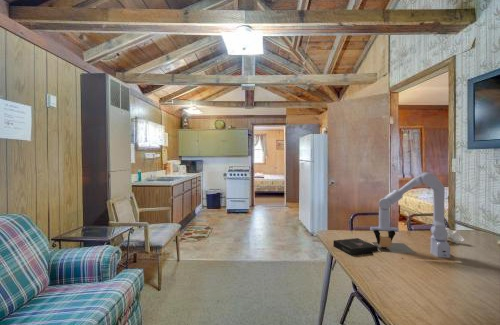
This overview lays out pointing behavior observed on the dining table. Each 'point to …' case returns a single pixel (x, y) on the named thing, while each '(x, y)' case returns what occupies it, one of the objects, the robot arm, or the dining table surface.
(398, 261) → the dining table surface
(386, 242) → the tan wooden block
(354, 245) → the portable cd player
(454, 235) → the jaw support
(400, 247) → the base plate
